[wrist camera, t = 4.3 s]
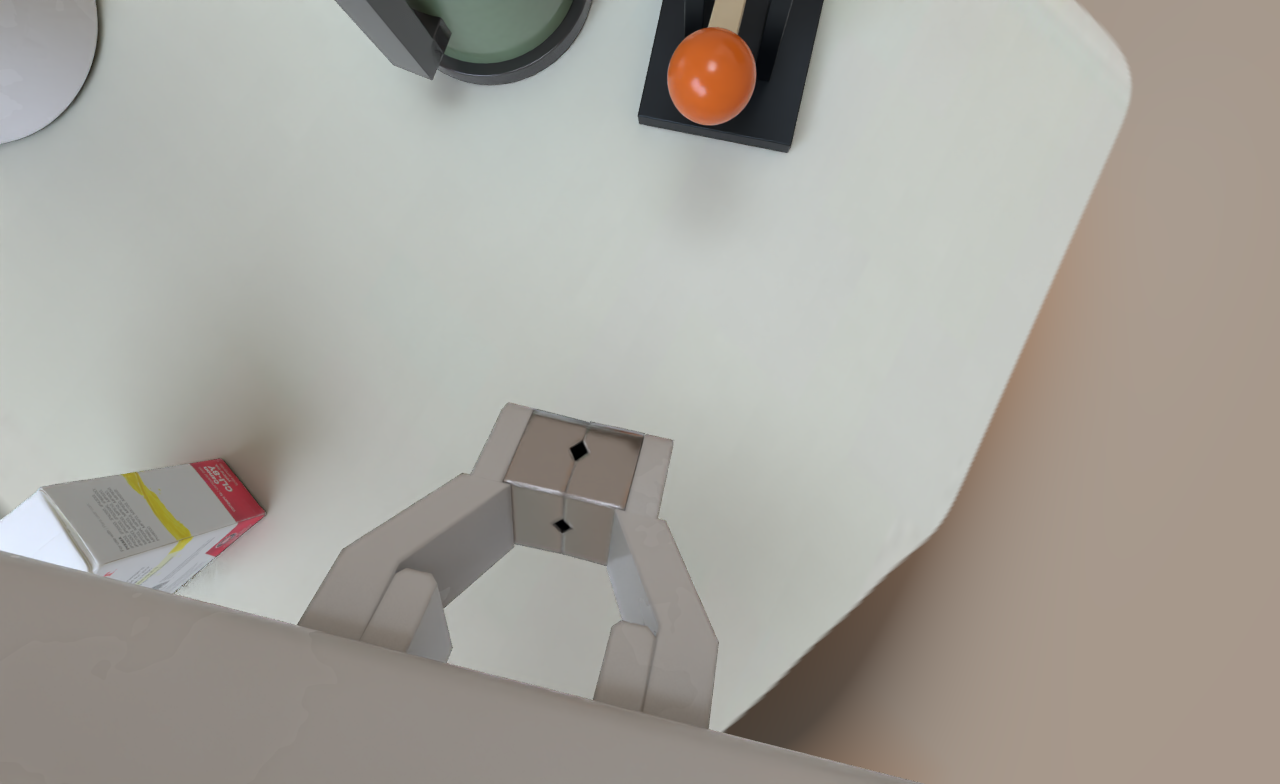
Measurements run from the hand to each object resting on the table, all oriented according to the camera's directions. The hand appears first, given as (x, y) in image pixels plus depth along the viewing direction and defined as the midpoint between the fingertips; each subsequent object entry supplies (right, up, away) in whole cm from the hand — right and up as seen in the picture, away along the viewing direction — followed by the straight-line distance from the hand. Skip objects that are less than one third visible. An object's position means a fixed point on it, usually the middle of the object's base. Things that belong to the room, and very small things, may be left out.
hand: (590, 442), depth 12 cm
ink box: (-27, -8, +30) cm, 41 cm away
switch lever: (+5, +16, +15) cm, 23 cm away
